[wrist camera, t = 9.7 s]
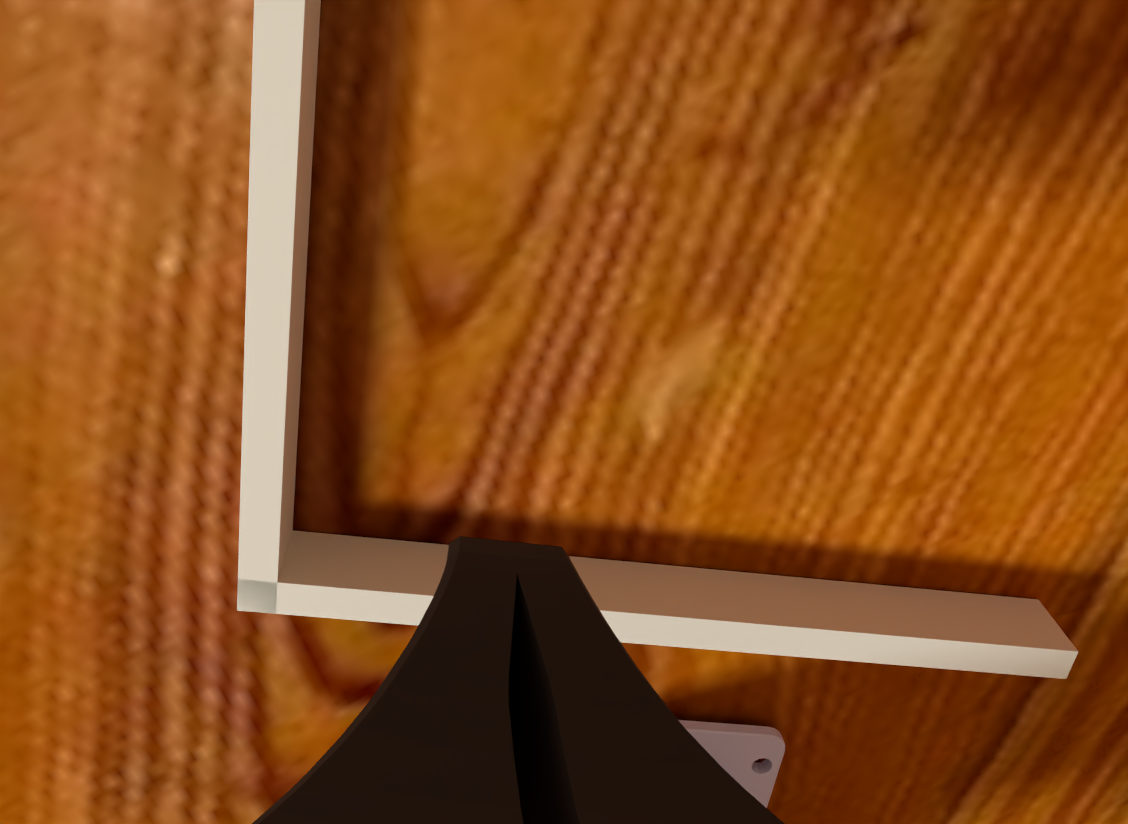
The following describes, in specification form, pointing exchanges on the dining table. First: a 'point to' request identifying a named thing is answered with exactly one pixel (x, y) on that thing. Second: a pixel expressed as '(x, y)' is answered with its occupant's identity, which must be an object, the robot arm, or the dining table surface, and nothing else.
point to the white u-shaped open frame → (619, 588)
